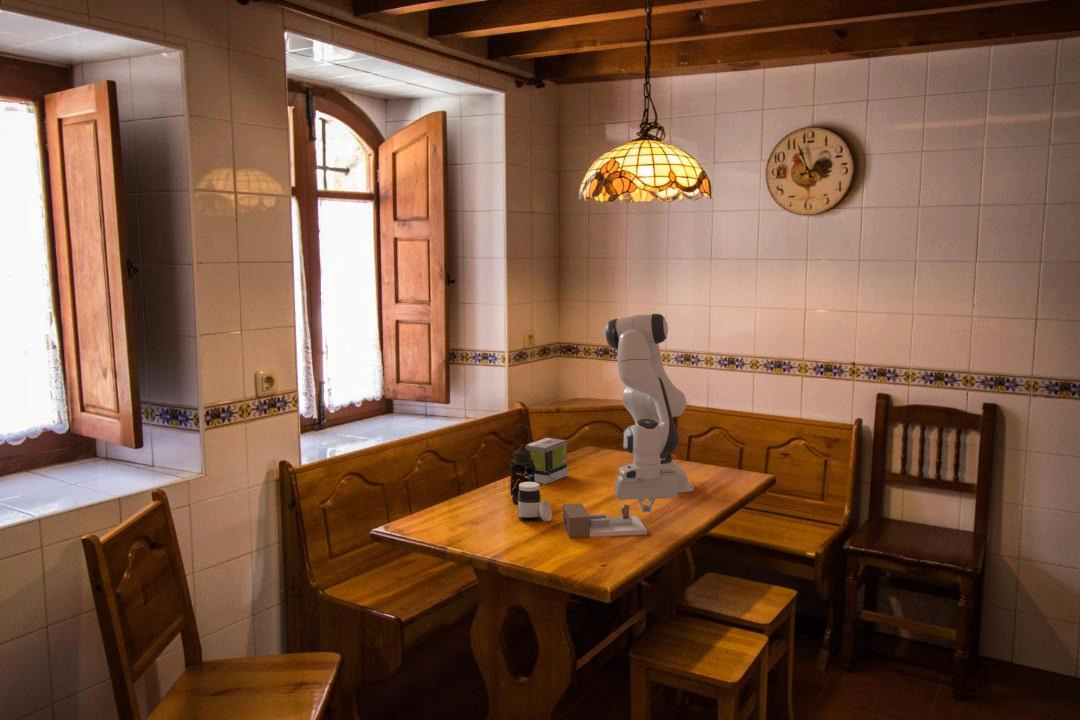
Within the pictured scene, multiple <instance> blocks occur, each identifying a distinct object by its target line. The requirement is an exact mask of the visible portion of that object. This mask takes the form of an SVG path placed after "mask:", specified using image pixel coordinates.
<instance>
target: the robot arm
mask: <svg viewBox="0 0 1080 720" xmlns="http://www.w3.org/2000/svg"><path fill="white" fill-rule="evenodd" d="M668 334H669V325H668V321H666V318H665V316H663V315H662V314H660V313H652V314H637V315H635V314H634V315H632V316H625V317H621V318H614V319H611V320H608V322H607V323H606V325H605V330H604V337H605V340H606V343H607V344H608V346H609V347H611V348H612V349H615V350H616V351H617V368H618V375H619V379H620V381H621V382H622V384H624V385H625V386H626V387H625V388H624V390H623V392H622V395H621V401H622V402H621V403H622V404H623V407H624V408H625V409H626V411H628V412H629V414H630V415H631V417H632V419H633V421H634V423H635V424H632V425H628V426H627V427H626V428H625V430H624V431H623V432H622V446H623V449H624V450H625V451H626V452H628V454H632V455H633V459H632V460H633V461H632V462H631V463H630V464H629V463H628V464H625V465H624V466H621V467H619V468H618V474H619V475H618V476H617V478H616V481H615V486H614V487H615V488H614V495H615V497H616V498H617V499H618V500H619V501H623V500H629V501H630V500H637V501H638V503H639V505H640V510H641V512H642V513H651V512H652V506H653V505H654V503H655V501H656V500H655V499H675V498H676V497H678V494H681V493H690V492H694V491H695V489H694V484H692V483H691V482H690V481H689V480H688V475H687V472H686V470H684V469H683V468H682V467H681V466H680V465H678V464H677V463H676V462H674V461H675V460H676V459H677V455H676V454H675V453H674V452H675V451H676V449H678V447H679V444H680V437H679V432H678V430H677V427H676V424H675V421H674V419H673V418H675V417H680V416H681V415H683V413H684V411H685V410H686V407H687V398H686V395H685V394H684V392H683V391H681V390H680V389H678V387H676V385H674V384H673V382H672V381H671V379H670V378H669V377H668V375H667V373H666V370H665V367H664V363H663V360H662V355H661V351H660V350H661V349H660V345H659V344H661V343H664V342H665V340H667V338H668ZM644 500H648V501H649V502H648V504H647V505H644V504H643V503H644Z"/></svg>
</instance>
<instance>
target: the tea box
mask: <svg viewBox="0 0 1080 720" xmlns="http://www.w3.org/2000/svg"><path fill="white" fill-rule="evenodd" d="M527 444H528V443H527ZM524 445H525V446H524V447H525V448H526V449H527V450H529V451H531V453H530V454H531V459H532V460H534V461H533V463H534V464H535V468H536V470H535V482H539V484H540V483H543V484H542V485H548V484H550V483H553V482H555V481H557V480H560V479H562V478H565V477H567V476H568V454H567V451H568V449H567V445H568V444H567V440H565V439H558V438H550V437H543V438H542V439H539V440H535V441H533V442H532V441H531V442H530V443H529V444H528V445H526V444H524ZM526 466H527V465H526ZM525 470H527V469H525ZM532 473H533V471H532ZM525 474H527V471H526V472H525ZM529 476H531V477H532V475H529ZM525 478H528V476H525ZM529 479H530V478H529ZM529 479H528V480H529ZM547 483H548V484H547Z"/></svg>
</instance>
